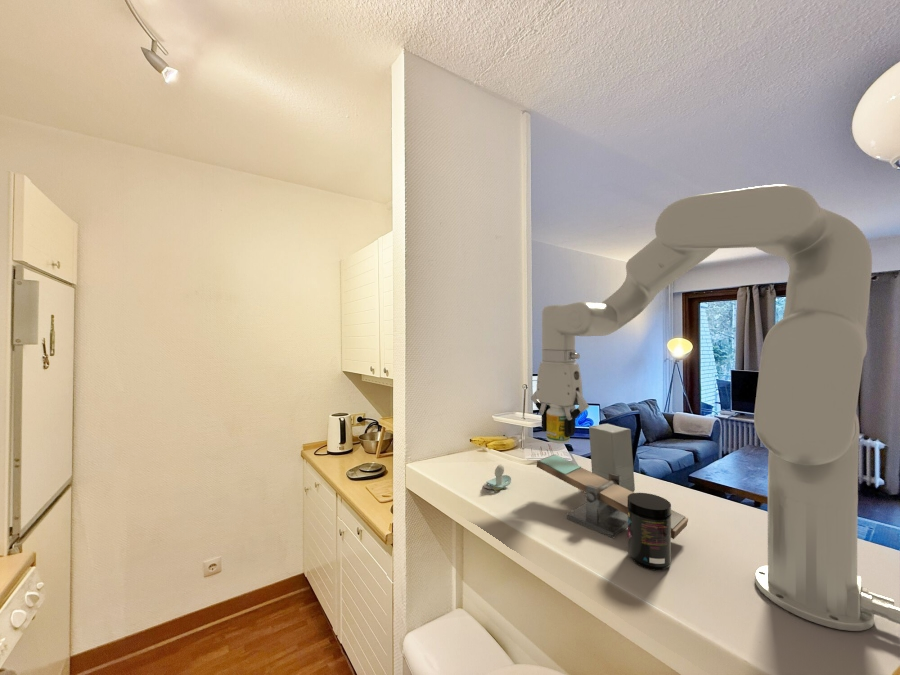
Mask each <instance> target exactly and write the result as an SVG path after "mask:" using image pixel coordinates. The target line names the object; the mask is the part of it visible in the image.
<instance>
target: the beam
mask: <svg viewBox="0 0 900 675" xmlns="http://www.w3.org/2000/svg"><path fill="white" fill-rule="evenodd" d="M536 468H538V469H540V470H542V471H544V472H545V473H548V474H549V475H552V476H553V477H555V478H557V479H558V480H561V481H563V482H565V483H566V484H568V485H571V486H572V487H574V488H576V489H577V490H580V491H582V492H583V493H585V494H586V485H591V486H594V487H597V488H599V500H600V501H602V502H604V503H606V504H608V505H610V506H612V507H614V508H616V509H618V510H619V511H621V512H623V513H625V514H627V515H628V507H627V504H628V495H630V494H632V493H635V491H634V492H632V491H630V490H627V489H625V488H623V487H621V486H619V485H617V482H616V481H615V480H610V481H609V480H606V479H604V478H602V477H600V476H598V475H596V474H594V473H592V471H589V470H588V469H586V468H584V467H582V466H580V465H578V464H576V463H574V462H572V461H571V460H567V459H565V458H563V457H561V456H559V455H558V454H552V455H549V456H547V457H545V458H541V459H538V460H537V462H536ZM688 522H689V517H686V515H683V514H681V513H680V512H677V511H675V510H673V509H671V540H675V539H676V537H677V536H678V535H679V534H681V533H682V531H683V530H684V529H685V528H686V527H687V525H688Z"/></svg>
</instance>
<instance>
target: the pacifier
mask: <svg viewBox="0 0 900 675" xmlns="http://www.w3.org/2000/svg"><path fill="white" fill-rule="evenodd" d="M504 473H505V467H504V465H503V464H498V465H497V466H496V467H495V469H494V476H495V477H494V478H492V479H490V480H487V481H485V483H483V488H485V489H487V490H493V489H494V491H499V490H503V489H504V488H506V487H508V486H509V485H510V484H511V483H512V477H511V476H510V475H507V474H506V475H505V474H504ZM503 474H504V475H503ZM488 484H489V485H488Z"/></svg>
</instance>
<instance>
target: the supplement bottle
mask: <svg viewBox="0 0 900 675" xmlns="http://www.w3.org/2000/svg"><path fill="white" fill-rule="evenodd" d="M549 405H550V407H551V408H549V409H548V410H547V431H546V440H547V441H548V442H550V443H554V444H567V443H570V437H571V436H570V437H565V435H564V421H565V420H566V419H567V417H566V413H565V410H564V407H562V406H558V405H555V404H549Z"/></svg>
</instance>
